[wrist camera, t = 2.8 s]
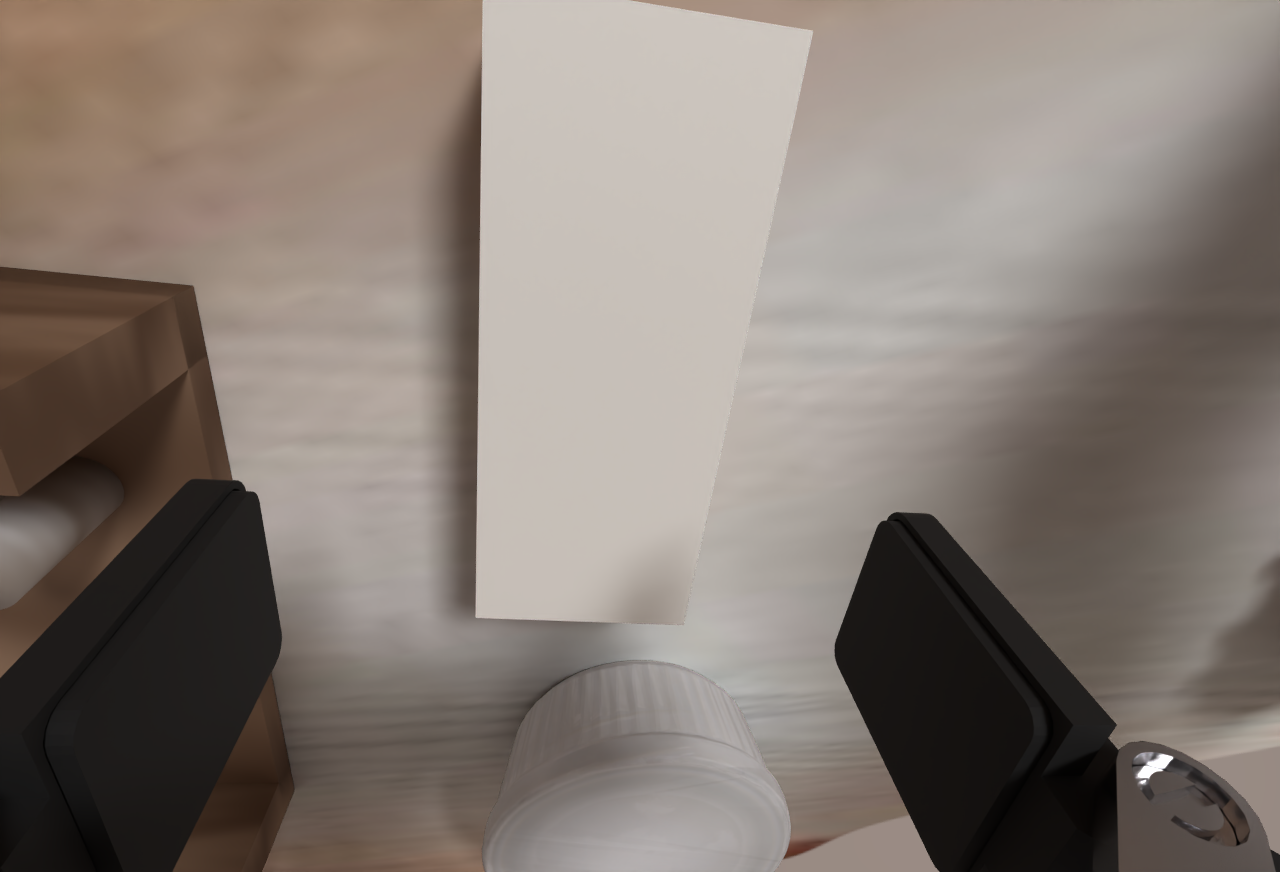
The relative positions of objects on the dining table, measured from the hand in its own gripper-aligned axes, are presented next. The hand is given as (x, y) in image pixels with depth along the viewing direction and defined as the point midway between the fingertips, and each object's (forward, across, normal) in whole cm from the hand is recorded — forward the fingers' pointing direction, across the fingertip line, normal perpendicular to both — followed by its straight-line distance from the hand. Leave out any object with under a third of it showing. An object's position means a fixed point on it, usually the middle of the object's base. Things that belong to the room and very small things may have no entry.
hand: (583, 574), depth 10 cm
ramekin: (+11, -4, +17) cm, 21 cm away
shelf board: (+10, -1, -1) cm, 11 cm away
